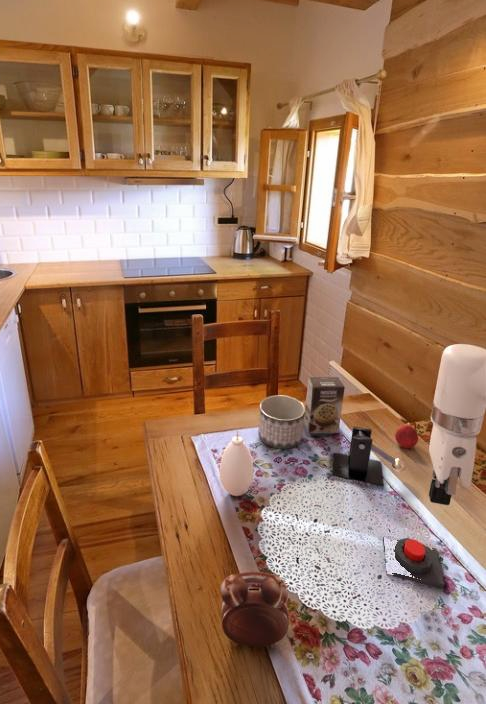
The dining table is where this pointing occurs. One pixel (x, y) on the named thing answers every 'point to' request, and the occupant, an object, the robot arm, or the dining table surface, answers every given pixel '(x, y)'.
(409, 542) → the red button
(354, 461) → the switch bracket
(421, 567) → the button box
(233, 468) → the pale pink tall ovoid
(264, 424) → the planter
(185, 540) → the dining table surface
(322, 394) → the cookie box
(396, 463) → the switch lever
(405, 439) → the onion
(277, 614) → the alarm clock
